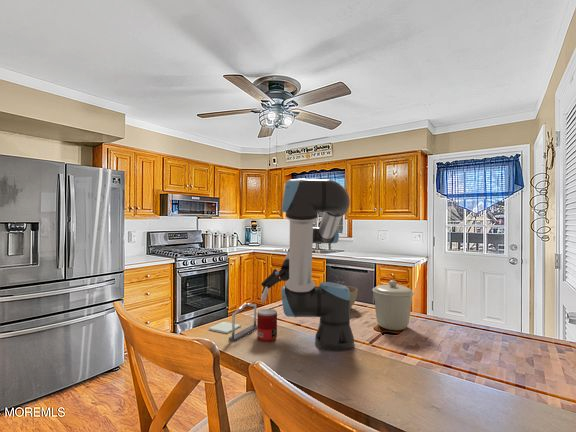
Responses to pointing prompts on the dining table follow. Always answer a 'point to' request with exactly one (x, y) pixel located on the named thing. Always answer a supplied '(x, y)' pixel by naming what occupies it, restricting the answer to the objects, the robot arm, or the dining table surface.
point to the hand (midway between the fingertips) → (275, 302)
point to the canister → (393, 305)
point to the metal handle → (245, 331)
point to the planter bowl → (352, 295)
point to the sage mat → (223, 327)
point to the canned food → (267, 325)
